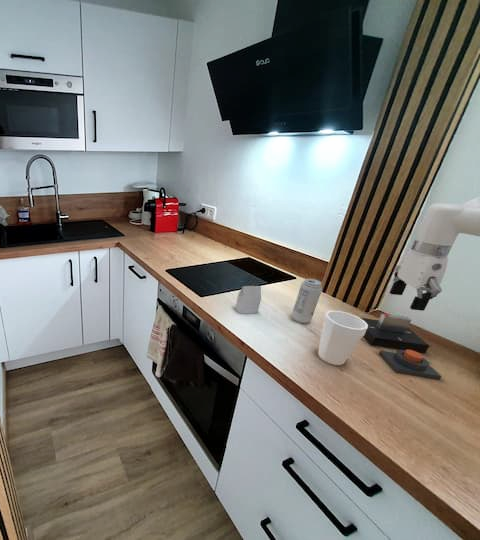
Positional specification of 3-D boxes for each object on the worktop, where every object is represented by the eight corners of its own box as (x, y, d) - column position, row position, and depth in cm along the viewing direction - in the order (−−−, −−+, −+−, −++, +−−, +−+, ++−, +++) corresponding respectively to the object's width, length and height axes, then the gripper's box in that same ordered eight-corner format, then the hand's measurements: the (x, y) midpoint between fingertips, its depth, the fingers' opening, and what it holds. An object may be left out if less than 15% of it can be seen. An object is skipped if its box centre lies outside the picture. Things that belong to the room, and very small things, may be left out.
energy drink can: (312, 325, 97) (326, 286, 91) (293, 322, 99) (305, 283, 93) (307, 316, 103) (320, 279, 97) (289, 313, 104) (300, 276, 98)
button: (414, 355, 80) (417, 350, 80) (423, 364, 77) (426, 359, 76) (399, 353, 81) (402, 348, 80) (408, 361, 78) (410, 356, 77)
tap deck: (399, 330, 96) (403, 322, 95) (425, 353, 85) (430, 345, 84) (352, 324, 99) (355, 316, 98) (371, 345, 88) (375, 337, 87)
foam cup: (356, 361, 81) (373, 322, 76) (343, 373, 77) (360, 334, 71) (320, 343, 89) (333, 307, 83) (305, 354, 84) (319, 316, 78)
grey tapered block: (257, 313, 104) (263, 288, 100) (239, 313, 103) (245, 288, 100) (252, 307, 107) (258, 284, 103) (235, 308, 107) (240, 284, 103)
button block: (418, 359, 83) (423, 351, 81) (439, 379, 76) (445, 371, 74) (378, 353, 85) (382, 345, 84) (395, 372, 78) (400, 363, 76)
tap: (401, 330, 91) (408, 316, 89) (404, 333, 89) (411, 319, 87) (375, 326, 93) (382, 312, 90) (378, 329, 91) (385, 315, 89)
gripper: (473, 260, 71) (442, 318, 78) (424, 240, 87) (401, 290, 94) (437, 257, 73) (409, 314, 80) (395, 238, 89) (375, 287, 95)
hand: (405, 301), depth 87 cm, fingers open, 9 cm apart
